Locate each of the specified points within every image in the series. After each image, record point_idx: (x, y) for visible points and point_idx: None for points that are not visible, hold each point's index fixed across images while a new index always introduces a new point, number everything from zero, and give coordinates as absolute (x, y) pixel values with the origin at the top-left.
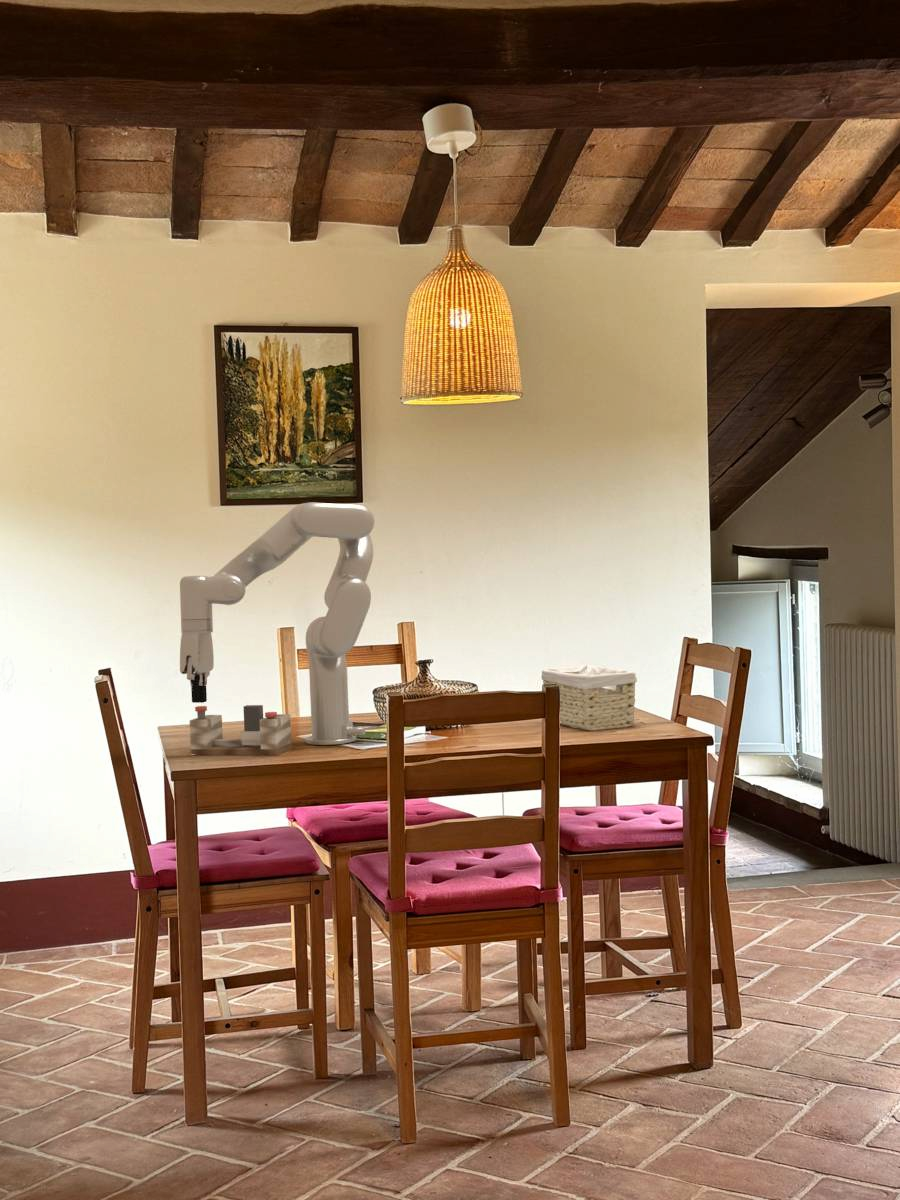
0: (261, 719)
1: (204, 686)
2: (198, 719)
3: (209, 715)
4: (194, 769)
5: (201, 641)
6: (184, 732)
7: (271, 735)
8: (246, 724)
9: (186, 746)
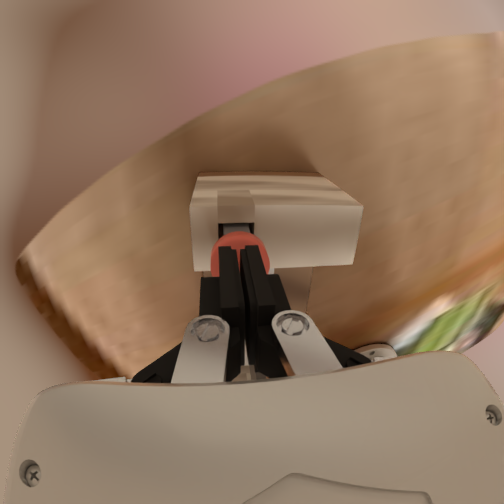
0: None
1: (254, 364)
2: (223, 231)
3: (345, 224)
4: (38, 276)
5: None
6: None
7: None
8: None
9: (369, 91)
